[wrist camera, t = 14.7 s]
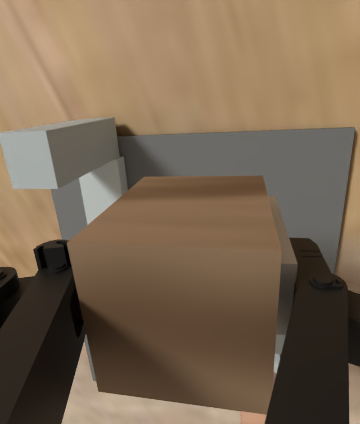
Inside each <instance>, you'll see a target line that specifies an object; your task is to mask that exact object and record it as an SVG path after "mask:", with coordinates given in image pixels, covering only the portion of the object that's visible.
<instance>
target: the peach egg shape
mask: <svg viewBox="0 0 360 424" xmlns="http://www.w3.org/2000/svg"><path fill="white" fill-rule="evenodd" d="M275 378H276V373H275V372H274V373H273V386H274V382H275ZM272 390H273V388H272ZM265 420H266V415H264V414H257V413H250V412H243V411H241V424H265Z"/></svg>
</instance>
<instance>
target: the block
mask: <svg viewBox="0 0 360 424" xmlns="http://www.w3.org/2000/svg"><path fill="white" fill-rule="evenodd" d="M67 247H68V251H69V256H70V261H71V265H72V270H73V275H74V279H75V284H76V289H77V293H78V298H79V303H80V307H81V312H82V317H83V321H84V326H85V331H86V335H87V340H88V345H89V349H90V354H91V359H92V363H93V368H94V373H95V378H96V382H97V387H98V391H99V392H106V393H113V394H120V395H128V396H135V397H142V398H149V399H156V400H164V401H171V402H178V403H185V404H192V405H200V406H207V407H214V408H221V409H228V410H236V411H243V412H250V413H257V414H264V415H267V411H268V407H269V403H270V399H271V395H272V388H273V373H274V359H275V344H276V330H277V315H278V301H279V286H280V272H281V258H282V249H281V245H280V241H279V237H278V233H277V229H276V225H275V222H274V218H273V214H272V210H271V206H270V202H269V198H268V194H267V190H266V186H265V182H264V178H263V176H169V177H143V178H142V179H141V180H140V181H139V182H137V183H136V184H135V185H134V186H133V187H132V188H130V189H129V190H128V191H127V192H126V193H125V194H123V195H122V196H121V197H120V198H119V199H118V200H116V201H115V202H114V203H113V204H112V205H111V206H109V207H108V208H107V209H106V210H105V211H104V212H102V213H101V214H100V215H99V216H98V217H96V218H95V219H94V220H93V221H92V222H91V223H89V224H88V225H87V226H86V227H85V228H84V229H82V230H81V231H80V232H79V233H78V234H77V235H75V236H74V237H73V238H72V239H71V240H70V241H68V242H67Z"/></svg>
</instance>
